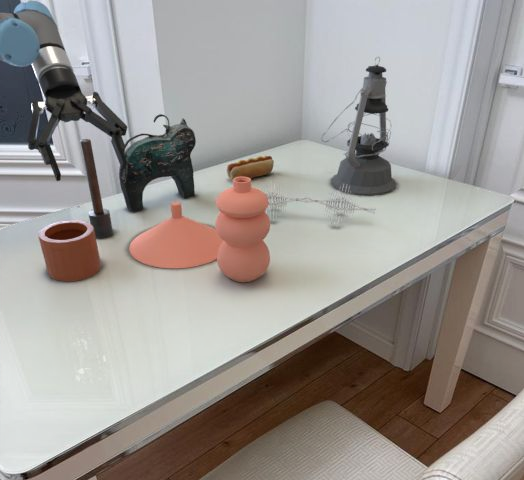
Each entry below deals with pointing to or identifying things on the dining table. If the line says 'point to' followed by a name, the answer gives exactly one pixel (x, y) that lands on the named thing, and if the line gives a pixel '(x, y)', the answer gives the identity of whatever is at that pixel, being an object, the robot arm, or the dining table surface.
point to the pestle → (95, 195)
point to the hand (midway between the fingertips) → (92, 171)
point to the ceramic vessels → (213, 236)
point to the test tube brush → (315, 201)
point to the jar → (70, 250)
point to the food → (250, 167)
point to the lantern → (367, 143)
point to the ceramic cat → (158, 163)
